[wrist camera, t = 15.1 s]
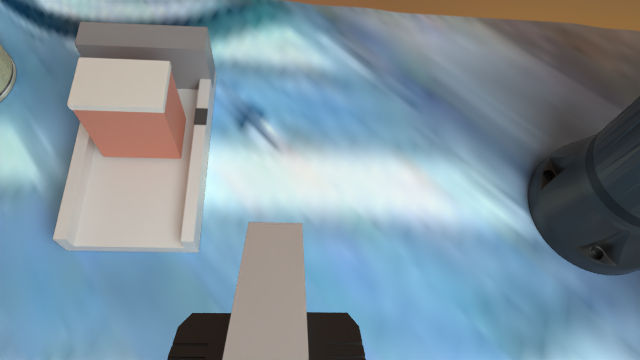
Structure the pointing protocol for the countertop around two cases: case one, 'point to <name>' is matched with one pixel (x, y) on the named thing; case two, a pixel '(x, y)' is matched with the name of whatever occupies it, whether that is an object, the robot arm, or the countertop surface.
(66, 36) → the countertop surface
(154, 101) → the orange rectangular block
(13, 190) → the countertop surface
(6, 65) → the coffee can
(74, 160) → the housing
